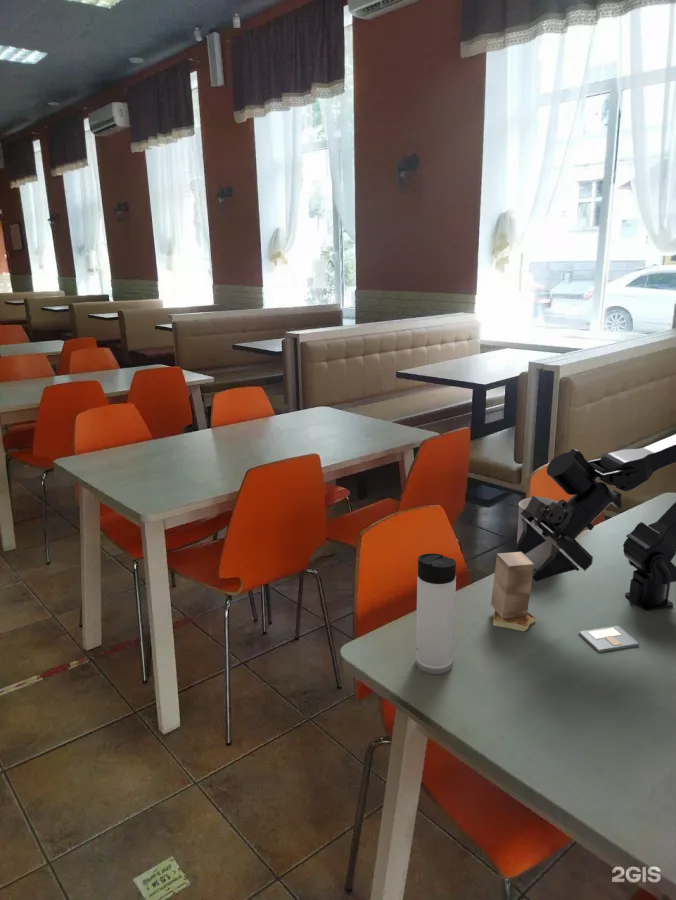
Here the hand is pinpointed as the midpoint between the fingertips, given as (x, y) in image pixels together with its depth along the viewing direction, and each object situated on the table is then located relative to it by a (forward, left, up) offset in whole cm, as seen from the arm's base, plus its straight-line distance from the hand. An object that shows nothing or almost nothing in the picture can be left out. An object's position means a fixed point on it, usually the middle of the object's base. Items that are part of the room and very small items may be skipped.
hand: (523, 568), depth 125 cm
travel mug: (+22, +11, -10) cm, 26 cm away
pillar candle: (-15, -20, -10) cm, 27 cm away
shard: (+3, 0, -11) cm, 11 cm away
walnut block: (+3, 0, -8) cm, 9 cm away
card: (-11, +12, -10) cm, 19 cm away
